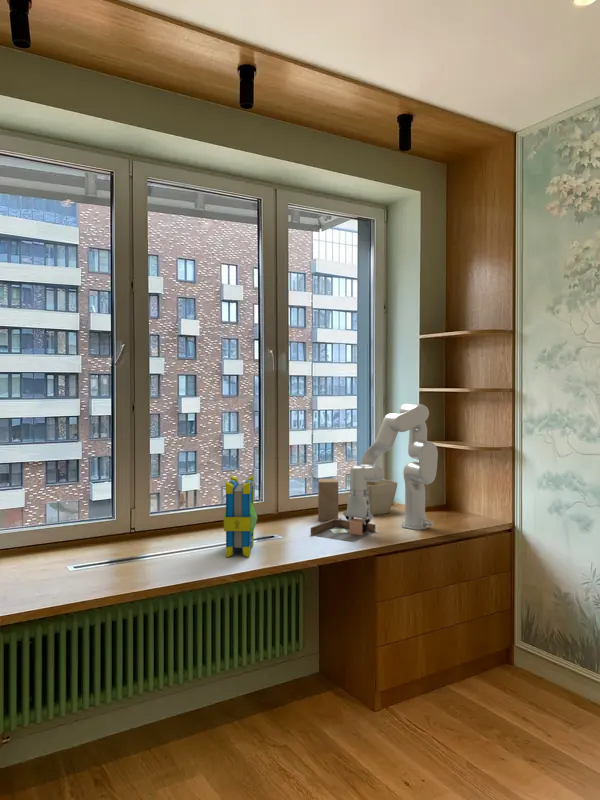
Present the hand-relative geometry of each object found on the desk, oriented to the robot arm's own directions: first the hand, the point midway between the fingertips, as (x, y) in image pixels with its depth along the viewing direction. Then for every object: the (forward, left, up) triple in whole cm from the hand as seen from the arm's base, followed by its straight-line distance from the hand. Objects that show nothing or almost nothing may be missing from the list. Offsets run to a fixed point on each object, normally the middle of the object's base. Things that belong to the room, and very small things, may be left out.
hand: (358, 531), depth 284 cm
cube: (0, 0, -1) cm, 1 cm away
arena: (+5, +5, -1) cm, 7 cm away
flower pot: (+15, -47, -1) cm, 49 cm away
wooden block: (+27, -19, -1) cm, 33 cm away
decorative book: (+28, +52, -1) cm, 59 cm away
